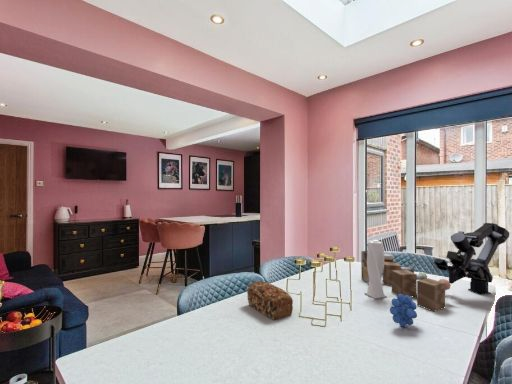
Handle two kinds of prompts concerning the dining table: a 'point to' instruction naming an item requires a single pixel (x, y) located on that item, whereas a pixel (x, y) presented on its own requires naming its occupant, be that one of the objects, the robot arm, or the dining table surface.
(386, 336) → the dining table surface
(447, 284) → the button terracotta
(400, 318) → the grapes
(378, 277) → the skyscraper
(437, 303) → the box right
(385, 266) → the box left
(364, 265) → the coffee box
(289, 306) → the bread
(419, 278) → the button sage
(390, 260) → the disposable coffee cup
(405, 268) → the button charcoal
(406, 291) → the box middle
